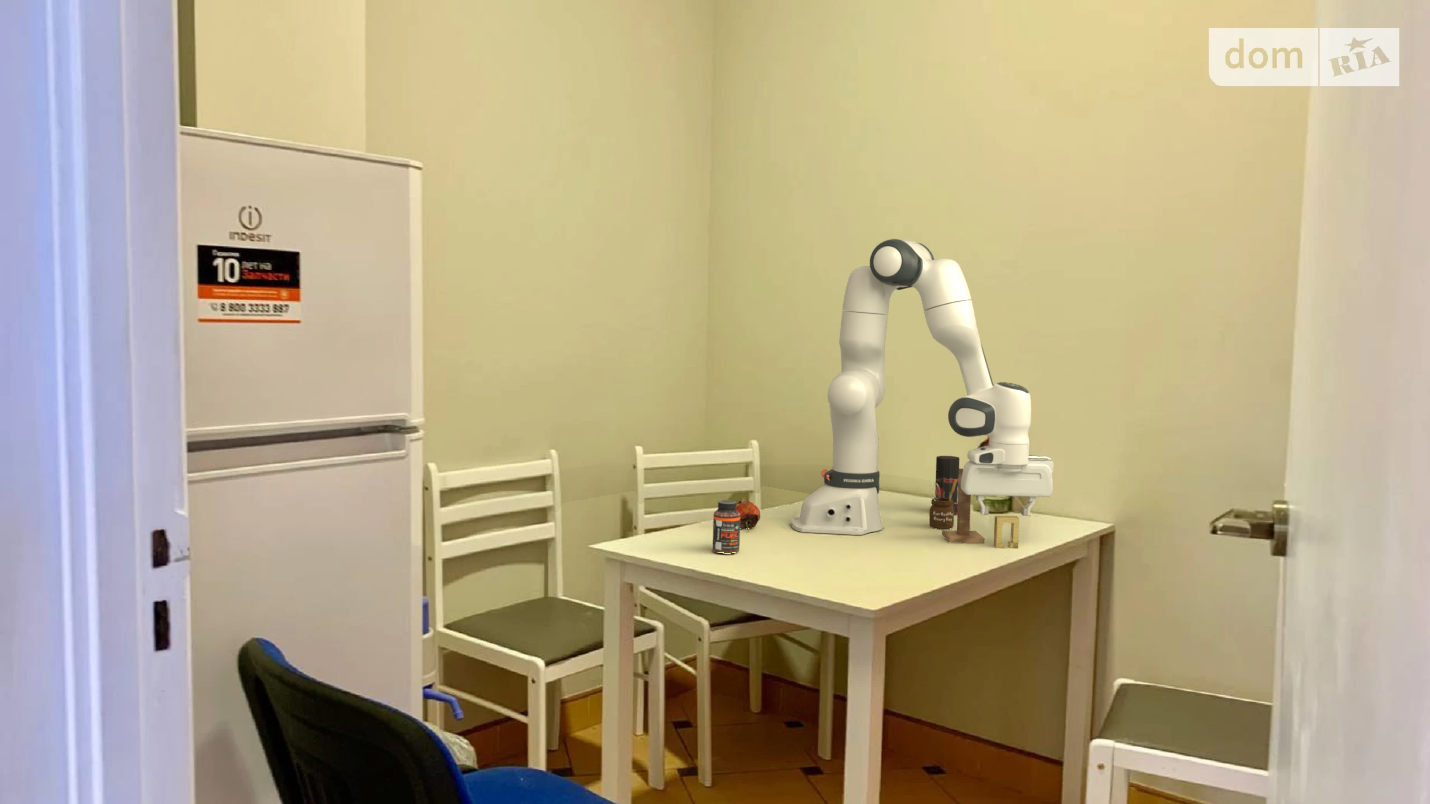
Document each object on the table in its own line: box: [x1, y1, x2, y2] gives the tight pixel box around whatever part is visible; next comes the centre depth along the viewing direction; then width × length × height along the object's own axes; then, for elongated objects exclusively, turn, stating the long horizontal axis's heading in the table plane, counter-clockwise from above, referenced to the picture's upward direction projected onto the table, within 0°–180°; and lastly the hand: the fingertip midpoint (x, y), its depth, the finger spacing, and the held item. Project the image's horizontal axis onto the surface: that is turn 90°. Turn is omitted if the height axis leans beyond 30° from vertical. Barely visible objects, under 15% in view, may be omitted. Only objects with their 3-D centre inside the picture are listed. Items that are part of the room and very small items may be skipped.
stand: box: [941, 468, 985, 544], centre depth 240 cm, size 15×8×17 cm, turn 90°
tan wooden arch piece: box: [993, 515, 1020, 549], centre depth 233 cm, size 2×5×7 cm, turn 91°
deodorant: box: [934, 455, 960, 516], centre depth 270 cm, size 6×6×15 cm
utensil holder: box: [928, 479, 957, 530], centre depth 253 cm, size 6×6×12 cm
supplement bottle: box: [712, 499, 741, 553], centre depth 225 cm, size 6×6×11 cm
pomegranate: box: [736, 500, 761, 533], centre depth 248 cm, size 7×7×10 cm
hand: (1004, 514), depth 233 cm, fingers open, 8 cm apart
